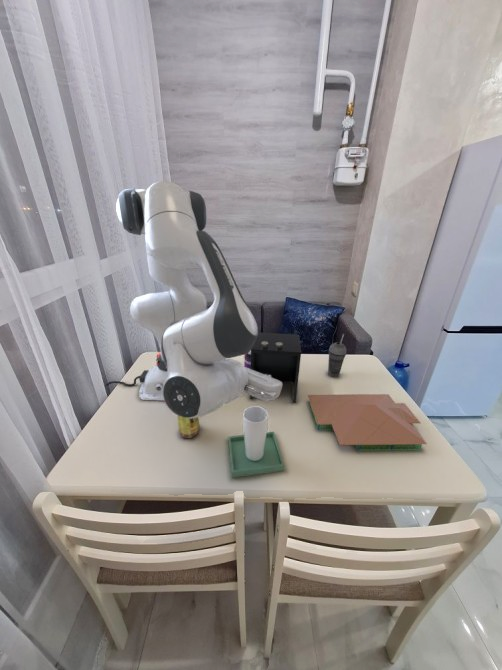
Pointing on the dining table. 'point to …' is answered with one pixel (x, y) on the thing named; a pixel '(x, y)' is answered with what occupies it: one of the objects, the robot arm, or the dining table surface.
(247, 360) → the pill bottle
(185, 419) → the sauce bottle
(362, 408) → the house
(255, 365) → the black coffee maker
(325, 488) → the dining table surface
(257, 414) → the drinking glass
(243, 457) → the tray
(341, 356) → the beverage cup
